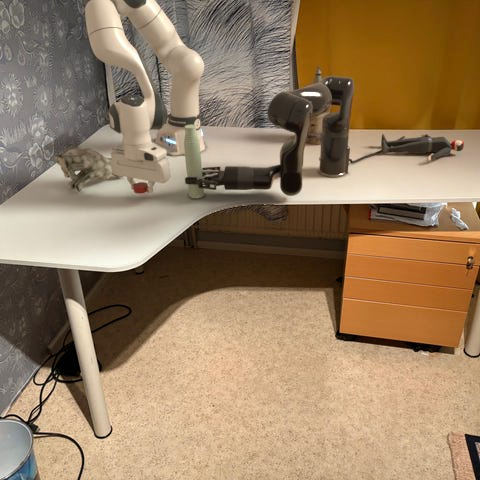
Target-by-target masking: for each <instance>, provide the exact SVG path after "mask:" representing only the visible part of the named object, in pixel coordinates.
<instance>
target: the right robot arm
mask: <svg viewBox="0 0 480 480" xmlns="http://www.w3.org/2000/svg"><path fill="white" fill-rule="evenodd" d="M310 84H311V85H310ZM310 84H308V85H306V86H304V87H301V88H297V89H294V90H284V91H280V92H278V93H277V94H275V95H274V97H272V99H271V100H270V102H269V104H268V106H267V110H266V116H267V119H268V121H269V122H270V123H271V124H272V125H273V126H275V127H277V128H280V129H283V130H285V131H287V132H290V133H294V134H293V136H292V137H290V138H289V139H287V140H286V141H285V142H284V143H283V144H282V146H281V148H280V151H279V164H276V165H271V166H268V167H259V166H258V167H256V166H255V167H254V166H241V165H240V166H237V165H236V166H234V165H226V166H225V167H224V170H221V166H208V167H202V176H203V177H198V178H197V177H187V176H186V177H185V178H184V183H185V184H184V185H188V184H193V185H197V186H198V188H202V189H204V190H212V191H216V190H217V187H219V186H223V188H224V190H226V191H252V190H257V191H258V190H260V191H261V190H263V191H265V190H266V191H267V190H270V189H271V188H272V187H273V184H274V181H275V180H278V179H279V187H280V191H281V192H282V193H283V194H284V195H286V196H287V197H288V196H289V197H295V196H297V195H299V194H300V193H301V192H302V189H303V166H304V155H305V154H304V153H305V148H306V143H307V137H308V133H309V129H310V125H311V121H312V117H316V116H318V115H320V114H322V113H324V112H325V111H327V110H328V108H329V107H330V105H332V106H336V107H338V106H339V110H337V111H335V112H330V114H327V115H325V116H324V117H323V120H322V135H321V138H320V139H321V144H320V153H319V157H318V161H319V165H318V168H319V169H318V173H319V174H320V175H322V176H324V177H329V178H339V177H343V176H345V175H346V174H349V166H350V164H356V163H358V162H360V161H362V160H364V159H367V158H370V157H372V156H373V157H374V156H376V155H378V154H382V149H380V150H378V151H375V152H373V153H369V154H366V155H364V156H361V157H359V158H357V159H355V160H353V159H352V158H350V154H351V147H350V146H349V138H350V137H349V134H350V127H351V126H350V125H351V117H352V110H353V109H352V107H353V102H354V94H355V81H354V79H353V78H352V77H347V76H337V75H327V76H325V77H323V78H322V80H320V81H319V82H318V83H315V84H313V83H310ZM403 139H406V136H405V135H403V136H401V137H400V138H398V139H397V140H403ZM388 147H389V146H388ZM390 147H392V146H390ZM202 185H203V186H202Z"/></svg>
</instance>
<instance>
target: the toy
mask: <svg viewBox="0 0 480 480" xmlns="http://www.w3.org/2000/svg"><path fill="white" fill-rule="evenodd" d="M420 135H421V136H418V137H410V138H409V137H408V138H403V139H402V140H398V139H397V140H387V138H386V136H385V134H384V133H382V134H381V140H380V141H381V143H380V147H381V150H382V152H381V154H382V155H386V154H391V153H395V154H401V153H402V154H403V153H408V154H416V153H417V154H426V153H431V154H430V155H428V156H427V160H428V161H429V162H430V161H433V160H435V159H437V158H438V157H441V156H443V157H444V156H448V155H450V154H451V151H452V150H453V151H455V152H461V151H463V150H464V147H465V142H464V141H462V140H452V141H451V142H450V141H449V140H448V139H447V138H446V137H445V136H433V137H432V136H431V135H429V134H427V133H425V134H423V133H422V134H420ZM388 146H389V147H388ZM390 146H391V147H390ZM433 152H434V153H433Z"/></svg>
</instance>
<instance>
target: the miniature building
mask: <svg viewBox="0 0 480 480" xmlns="http://www.w3.org/2000/svg"><path fill="white" fill-rule="evenodd" d="M320 67H321V66H320V65H317V66H316V68H317V69H316V71H315V72H314V75H315V76H314V79H313V81H312V83H310V84H309V85H311V84H315V83H318V82H319V81H320V80H322V79H323V78H322V71H321V70H320ZM332 106H333V105H330V107H329V108H328V110H327V111H325V112H324V113H322V114H320V115H318V116H316V117H312V121H311V125H310V129H309V133H308V137H307V141H306V143H309V144H314V145H321V135H322V120H323V117H324V116H325V115H327V114H330V113H331V108H332Z"/></svg>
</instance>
